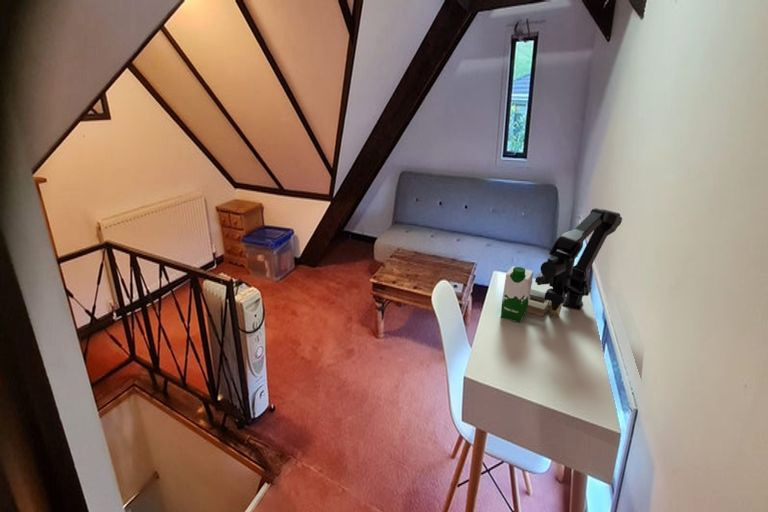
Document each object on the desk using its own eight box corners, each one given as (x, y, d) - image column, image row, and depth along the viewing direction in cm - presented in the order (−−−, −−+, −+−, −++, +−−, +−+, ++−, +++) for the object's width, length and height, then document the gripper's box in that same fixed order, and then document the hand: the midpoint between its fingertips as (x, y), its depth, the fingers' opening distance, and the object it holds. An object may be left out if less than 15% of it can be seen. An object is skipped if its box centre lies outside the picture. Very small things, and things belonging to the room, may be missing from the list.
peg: (549, 310, 149) (553, 290, 145) (560, 313, 147) (565, 293, 143) (546, 315, 146) (551, 294, 142) (558, 318, 144) (562, 297, 140)
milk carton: (497, 317, 144) (504, 268, 136) (504, 306, 151) (512, 259, 143) (521, 324, 140) (530, 275, 132) (528, 313, 147) (537, 265, 139)
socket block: (528, 298, 157) (531, 281, 154) (549, 304, 153) (553, 287, 150) (521, 309, 149) (524, 292, 146) (543, 316, 145) (546, 298, 142)
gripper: (545, 255, 150) (538, 291, 156) (533, 274, 136) (526, 312, 142) (577, 262, 144) (568, 299, 151) (567, 282, 130) (558, 322, 137)
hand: (555, 307), depth 145 cm, fingers closed on peg, 4 cm apart
